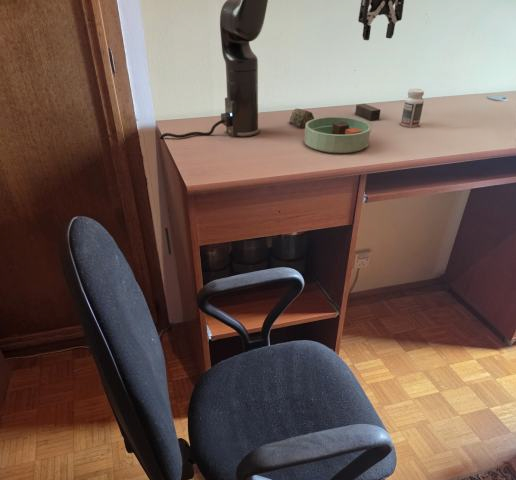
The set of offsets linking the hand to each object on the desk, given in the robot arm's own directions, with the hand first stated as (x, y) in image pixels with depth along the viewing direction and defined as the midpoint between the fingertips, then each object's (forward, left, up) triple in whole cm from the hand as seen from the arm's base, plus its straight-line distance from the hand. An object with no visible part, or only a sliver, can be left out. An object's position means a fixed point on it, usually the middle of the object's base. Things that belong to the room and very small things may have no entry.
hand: (377, 39), depth 138 cm
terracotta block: (-22, -23, -22) cm, 38 cm away
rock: (-24, +2, -22) cm, 33 cm away
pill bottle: (+7, -14, -22) cm, 27 cm away
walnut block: (-22, -16, -22) cm, 35 cm away
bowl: (-25, -20, -22) cm, 39 cm away
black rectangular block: (0, 0, -22) cm, 22 cm away
